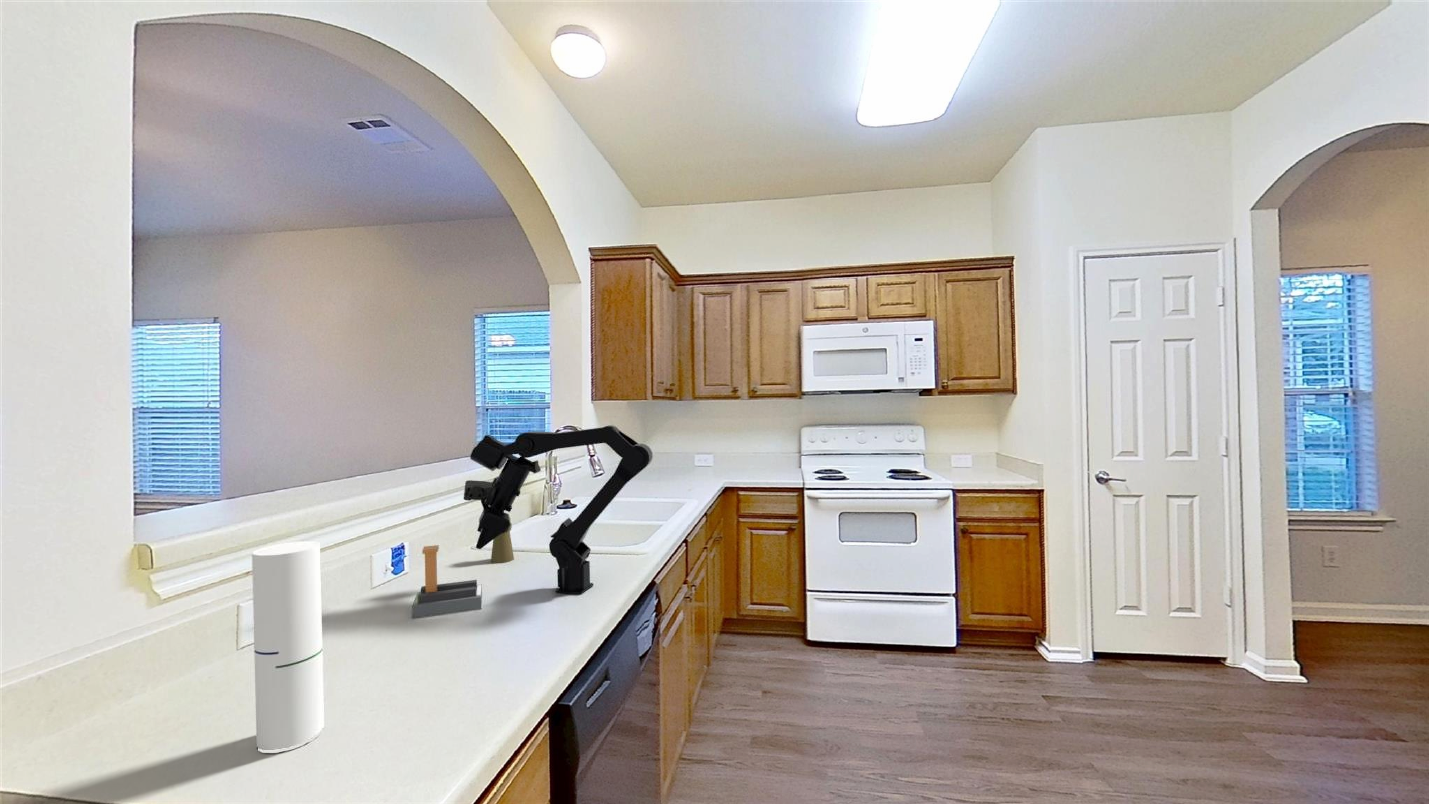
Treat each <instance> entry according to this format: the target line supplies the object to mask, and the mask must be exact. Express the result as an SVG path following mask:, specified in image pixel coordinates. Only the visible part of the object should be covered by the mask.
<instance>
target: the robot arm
mask: <svg viewBox="0 0 1429 804" xmlns="http://www.w3.org/2000/svg"><path fill="white" fill-rule="evenodd" d="M599 444H605V445H607V446H608V447H610V449H611V450H612V451H614V452H615V453H616V454H617V455H618V456H619V457H621V459H620V461H619V463H618V465H617V467H616V469H615V471H614V473H613V474H612V475H611V477H610V478H609V479H608V480H607V482H605V483H604V485H603V486H602V487H601V489H600V490H599V491H598V492H597V493H596V495H594V497H593V498H592V499H591V500H590V501H589V503H587V505H586V506H585V507H584V509H582V511H581V512H580V514H578V516H577V517H576V518H575V519H574V520H572V519H571V518H570V517H568V518H566V519H565V520H564V521H563V522H561V524H560V526H559V528H558V529H557V530H556V531H555V532H554V533H553V534H551V535H550V538H552V539H551V540H550V542H549V545H548V547H549V552H550V554H551V556H552V557H553V558H555V560H556V563H557V565H558V569H557V570H556V571H557V572H556V573H557V589H555V593H558V594H559V593H560V594H573V595H574V594H575V595H581V594H584V593H585V592H586V591H588V590H590V589H591V588H592V587H594V583H593V582H591V572H590V571H591V570H590V569H591V568H590V567H591V565H590V561H589V560H587V559H588V558H590V557H589V556H590V554H591V550H592V549H591V548H590V547H589V546H588V545H587V544H586V543H585V542H584V539H585V538H586V536H587V534H588V532H589V530H590V528H591V526H592V525H593V524H594V523H595V521H596V520H597V519H598V518H599V517H600V516H601V514H602V513H603V512H604V511H605V509H606V508H607V507H609V505H610V504H611V503H612V501H613V500H614V499H615V498H616V497H617V495H619V493H620V492H621V491H622V490H623V488H624V487H625V486H626V485H627V484H628V483H629V482H630V481H631V480H632V479H634V478H635V477H636V476H638V474H640V473H641V472H642V471H643V470H644V469H645V468H647V467H648V466H649V464H651V462H652V461H653V457H654V456H653V451H652V449H651V448H650V447H649V446H648V445H647V444H645V443H638V442H637V441H636V440H635V439H633V438H632V437H630V436H629V435H627V434H625V433H624V432H622V431H621V430H620V429H619V428H618V427H617V426H616V425H606V426H604V427H595V428H586V429H579V430H571V431H562V432H551V431H539V430H538V431H537V430H532V431H527V432H523V433H520V434H518V435H517V437H516V438H515V440H514V441H513V442H510V443H507V444H506V443H504V442H502V441H500V440H498V439H496V438H495V437H494V436H492V435H491V434H486V435H484V436H483V438H482V439H481V440H480V441H479V442H478V443H477V445H476V446H474V447H473V449H472V451H471V453H470V458H469V459H470V460H471V461H473V462H475V463H476V464H478V465H481V466H482V467H484V468H485V469H487V470H490V471H491V472H494V471H495V470H501V471H500V472H499V475H498V476H496V477H494V478H493V480H492V481H486V480H466V481H465V485H464V491H463V500H464V501H480V503H481V505H482V508H483V510H482V511H481V515H480V516H479V519H478V526H477V532H479V536H478V539H477V541H476V545H475V549H477V550H481V549H482V548H483V549H484V547H485V546H487V545H488V544H489V543H490V542H493V539H495V538H496V537H497V536H499V535H500V534H502V533H504V532H507V531H508V529H509V527H510V525H511V524H512V522H511V517H510V514H509V513H511V511H512V509H513V505H514V502H515V501H516V499H517V497H520V495H521V490H522V487H523V486H524V483H525V481H526V479H527V478H528V476H529V474H530V472H531V473H533V474H537V473H540V472H541V470H542V469H541V467H540V464H539V460H534V461H532V460H530V459H528V458H533V457H535V456H538V455H542V454H544V453H548V452H552V451H555V450H558V449H559V450H560V449H567V448H575V447H582V446H583V447H584V446H590V445H599ZM516 455H519V457H518V456H516ZM506 512H508V513H506Z"/></svg>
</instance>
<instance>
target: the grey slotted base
mask: <svg viewBox="0 0 1429 804" xmlns="http://www.w3.org/2000/svg"><path fill="white" fill-rule="evenodd" d="M482 600H483V584H478V581H477V579H472V580H462V581H457V582H456V581H455V582H447V583H437V592H429V593H426V587H425V585H424V586H421V588H420V591H418V592H417V593H416V594H415V597H414V600H413V602H412V605H411V618H412V619H419V618H425V617H426V618H427V617H433V616H440V615H448V614H454V613H455V614H456V613H461V612H468V611H469V610H470V611H477V610H481V609H482V603H483V601H482Z"/></svg>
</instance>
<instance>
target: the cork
mask: <svg viewBox="0 0 1429 804" xmlns="http://www.w3.org/2000/svg"><path fill="white" fill-rule="evenodd" d="M512 528H513V525H512V523H511V525H510V527H509V529H508V531H507V532H504V533H502V534H500V535H499V536H497V537H496V538H495V539H493V540H492V548H491V557H490V563H492V564H504V563H509V562H512V561H514V560H515V557H514V550H513V544H512V538H511V530H512Z"/></svg>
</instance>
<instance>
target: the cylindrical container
mask: <svg viewBox="0 0 1429 804" xmlns="http://www.w3.org/2000/svg"><path fill="white" fill-rule="evenodd" d="M251 561H252V562H251V569H252V571H251V572H252V603H253V604H252V605H253V608H252V609H253V614H252V615H253V646H254V648H253V649H254V650H253V652H254V654H253V655H254V686H255V687H254V689H255V691H254V692H255V724H256V725H255V726H256V727H255V729H256V730H255V731H256V732H255V733H256V738H255V739H256V748H257V747H258V748H259V749H262V750H275V749H282V748H289V747H291V746H295V745H297V744H301V743H302V742H305V741H306V740H307V739H310V738H311V737H314V735H317V734H318V733H319V732H320V731H321V730H322V728H323V727H324V728H325V710H324V709H325V705H324V701H325V700H324V668H323V667H324V664H323V661H324V660H323V659H324V658H323V656H324V655H323V624H322V623H323V621H322V620H323V618H322V616H323V615H322V583H321V582H322V579H321V578H322V576H321V573H322V572H321V543H320V542H319V541H313V540H307V541H306V540H305V541H304V540H303V541H302V540H301V541H291V542H284V543H277V544H271V545H266V546H263V547H260V548H257V549H255V550H254V551H252V552H251Z"/></svg>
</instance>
